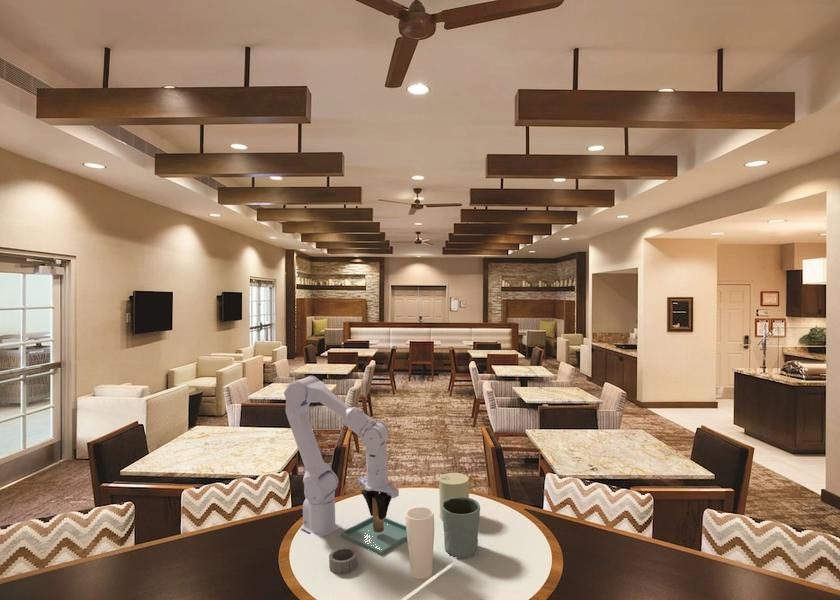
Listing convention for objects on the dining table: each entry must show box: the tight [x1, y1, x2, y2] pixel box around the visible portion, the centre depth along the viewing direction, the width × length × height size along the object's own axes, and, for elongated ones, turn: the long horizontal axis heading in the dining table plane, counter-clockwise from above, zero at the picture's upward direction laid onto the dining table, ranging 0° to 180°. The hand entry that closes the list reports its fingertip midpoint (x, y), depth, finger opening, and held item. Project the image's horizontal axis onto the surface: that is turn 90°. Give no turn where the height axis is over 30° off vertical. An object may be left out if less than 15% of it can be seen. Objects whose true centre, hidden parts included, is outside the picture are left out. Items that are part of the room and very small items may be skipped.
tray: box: [340, 516, 408, 556], centre depth 136 cm, size 16×14×2 cm
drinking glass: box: [405, 506, 435, 580], centre depth 117 cm, size 7×7×15 cm
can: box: [438, 472, 470, 521], centre depth 147 cm, size 9×9×12 cm
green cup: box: [442, 497, 481, 559], centre depth 128 cm, size 10×10×12 cm
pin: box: [372, 497, 384, 533], centre depth 136 cm, size 3×3×9 cm
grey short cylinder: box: [328, 546, 359, 575], centre depth 121 cm, size 7×7×3 cm
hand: (378, 516), depth 136 cm, fingers closed on pin, 3 cm apart
